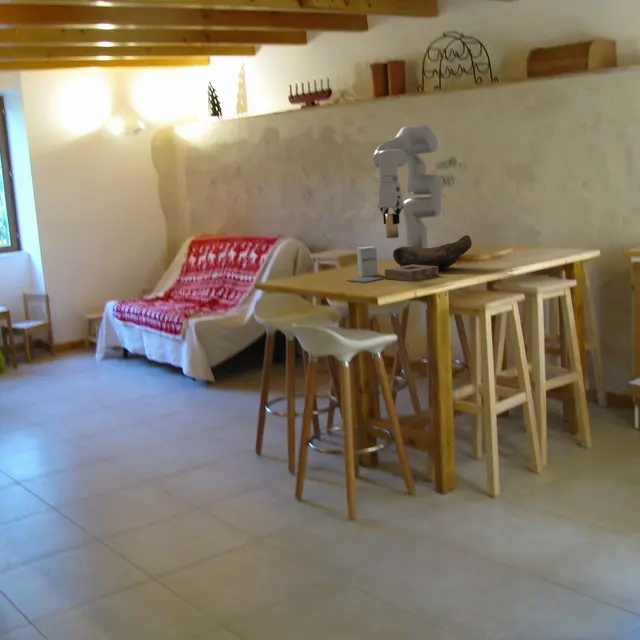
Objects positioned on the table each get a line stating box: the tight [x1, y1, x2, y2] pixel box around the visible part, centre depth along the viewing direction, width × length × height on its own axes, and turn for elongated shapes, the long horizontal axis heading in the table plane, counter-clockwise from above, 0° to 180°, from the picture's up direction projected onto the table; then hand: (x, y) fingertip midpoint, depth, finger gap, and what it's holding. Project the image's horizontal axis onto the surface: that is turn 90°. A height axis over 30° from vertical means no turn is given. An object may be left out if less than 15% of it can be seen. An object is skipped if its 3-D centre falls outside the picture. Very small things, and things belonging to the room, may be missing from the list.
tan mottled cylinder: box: [385, 212, 399, 239], centre depth 347 cm, size 5×5×10 cm
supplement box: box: [356, 245, 379, 277], centre depth 366 cm, size 7×7×13 cm
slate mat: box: [346, 276, 384, 284], centre depth 352 cm, size 11×11×1 cm
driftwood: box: [392, 234, 473, 271], centre depth 367 cm, size 37×18×15 cm, turn 45°
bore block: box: [384, 265, 439, 282], centre depth 350 cm, size 16×16×4 cm
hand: (391, 223), depth 347 cm, fingers closed on tan mottled cylinder, 5 cm apart
